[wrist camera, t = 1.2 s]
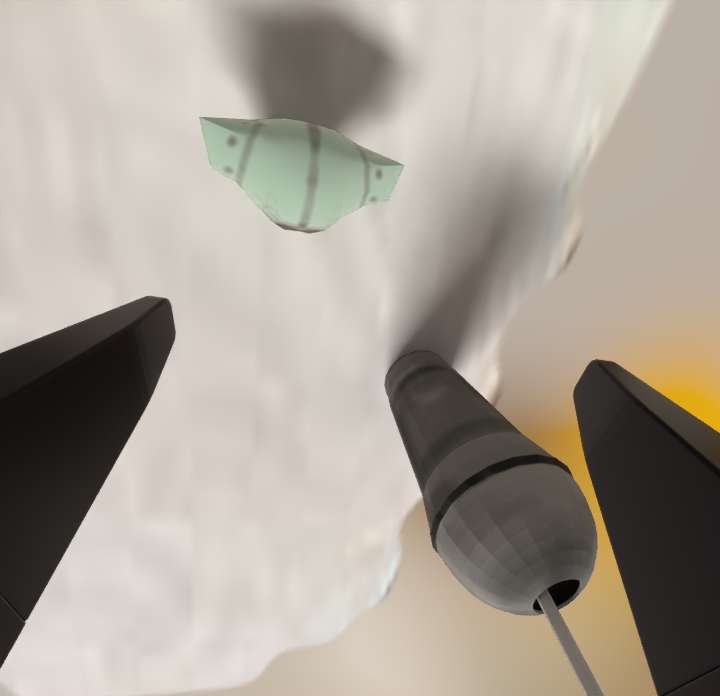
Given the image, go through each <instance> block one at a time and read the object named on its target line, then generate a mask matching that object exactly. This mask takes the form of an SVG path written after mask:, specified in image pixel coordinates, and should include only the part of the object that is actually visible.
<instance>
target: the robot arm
mask: <svg viewBox="0 0 720 696" xmlns="http://www.w3.org/2000/svg"><path fill="white" fill-rule="evenodd" d="M175 334H176V332H175V325H174V319H173V313H172V307H171V303H170V301H169V300H168V299H167V298H161V297H154V296H146V297H143V298H141V299H138V300H136V301H133V302H130V303H128V304H125V305H123V306H120V307H118V308H115V309H112V310H110V311H107V312H105V313H102V314H100V315H97V316H95V317H92V318H89V319H87V320H84V321H82V322H79V323H77V324H74V325H71V326H69V327H66V328H64V329H61V330H59V331H56V332H54V333H51V334H48V335H46V336H43V337H41V338H38V339H36V340H33V341H30V342H28V343H25V344H23V345H20V346H18V347H15V348H13V349H10V350H7V351H5V352H2V353H0V668H1V667H2V665H3V663H4V661H5V660H6V658H7V656H8V654H9V652H10V651H11V649H12V647H13V645H14V643H15V642H16V640H17V638H18V636H19V635H20V633H21V631H22V629H23V627H24V626H25V621H26V620H27V619H28V618H29V616H30V614H31V612H32V611H33V609H34V607H35V605H36V603H37V602H38V600H39V598H40V596H41V595H42V593H43V591H44V589H45V587H46V586H47V584H48V582H49V580H50V579H51V577H52V575H53V573H54V571H55V570H56V568H57V566H58V564H59V562H60V561H61V559H62V557H63V555H64V554H65V552H66V550H67V548H68V546H69V545H70V543H71V541H72V539H73V537H74V536H75V534H76V532H77V530H78V529H79V527H80V525H81V523H82V521H83V520H84V518H85V516H86V514H87V512H88V511H89V509H90V507H91V505H92V504H93V502H94V500H95V498H96V496H97V495H98V493H99V491H100V489H101V487H102V486H103V484H104V482H105V480H106V479H107V477H108V475H109V473H110V471H111V470H112V468H113V466H114V464H115V462H116V461H117V459H118V457H119V455H120V454H121V452H122V450H123V448H124V446H125V445H126V443H127V441H128V439H129V437H130V436H131V434H132V432H133V430H134V429H135V427H136V425H137V423H138V421H139V420H140V418H141V416H142V414H143V412H144V411H145V409H146V407H147V405H148V403H149V401H150V399H151V397H152V395H153V392H154V390H155V388H156V385H157V383H158V380H159V378H160V375H161V373H162V370H163V368H164V366H165V363H166V361H167V358H168V356H169V353H170V351H171V348H172V346H173V343H174V340H175ZM573 398H574V404H575V409H576V415H577V420H578V425H579V430H580V436H581V442H582V447H583V452H584V456H585V461H586V464H587V467H588V471H589V474H590V478H591V481H592V484H593V487H594V490H595V494H596V497H597V500H598V504H599V507H600V510H601V513H602V517H603V520H604V523H605V526H606V530H607V533H608V536H609V539H610V543H611V546H612V549H613V552H614V556H615V559H616V562H617V565H618V569H619V572H620V575H621V578H622V582H623V585H624V588H625V591H626V594H627V598H628V601H629V604H630V608H631V611H632V614H633V617H634V620H635V624H636V627H637V630H638V634H639V637H640V640H641V643H642V646H643V650H644V653H645V656H646V659H647V663H648V666H649V669H650V672H651V676H652V679H653V682H654V685H655V689H656V692H657V695H658V696H720V433H719V432H717V431H716V430H714V429H713V428H711V427H710V426H708V425H707V424H705V423H704V422H702V421H701V420H699V419H698V418H697V417H695V416H693V415H692V414H690V413H689V412H688V411H686V410H685V409H683V408H682V407H680V406H679V405H677V404H675V403H674V402H673V401H671V400H670V399H668V398H667V397H665V396H664V395H662V394H661V393H659V392H658V391H656V390H655V389H653V388H652V387H650V386H649V385H647V384H646V383H645V382H643V381H642V380H640V379H639V378H637V377H635V376H634V375H633V374H631V373H630V372H628V371H627V370H625V369H624V368H622V367H621V366H619V365H618V364H616V363H615V362H611V361H605V360H597V359H596V360H593V361H591V362H590V363H589V364H588V366H587V367H586V369H585V371H584V373H583V374H582V376H581V378H580V379H579V381H578V383H577V384H576V386H575V389H574V393H573Z"/></svg>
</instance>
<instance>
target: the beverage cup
mask: <svg viewBox="0 0 720 696" xmlns="http://www.w3.org/2000/svg"><path fill="white" fill-rule="evenodd" d="M385 389H386V393H387V395H388V398H389V403H390V407H391V410H392V413H393V416H394V418H395V421H396V424H397V427H398V429H399V432H400V435H401V438H402V440H403V443H404V446H405V449H406V451H407V454H408V457H409V460H410V462H411V465H412V468H413V471H414V473H415V476H416V479H417V482H418V484H419V487H420V490H421V493H422V495H423V500H424V505H425V510H426V514H427V519H428V523H429V528H430V531H431V532H430V535H431V540H432V545H433V548H434V549H435V551H436V552H437V553H438V554H439V555H440V557H442V559H443V561H444V563H445V565H446V566H447V567H448V569H449V570H450V571H451V573H452V574H453V575H454V576H455V577H456V579H457V580H458V581H459V582H460V583H461V584H462V585H463V586H464V587H465V588H466V589H467V590H468V591H469V592H470V593H471V594H472V595H474V596H475V597H476V598H478V599H479V600H481V601H482V602H484V603H486V604H488V605H490V606H492V607H494V608H496V609H499V610H502V611H505V612H509V613H513V614H516V615H541V614H545V616H546V618H547V620H548V622H549V624H550V626H551V628H552V630H553V632H554V634H555V636H556V637H557V640H558V642H559V644H560V645H561V648H562V650H563V652H564V653H565V655H566V657H567V660H568V661H569V663H570V665H571V667H572V669H573V671H574V673H575V675H576V677H577V679H578V681H579V683H580V685H581V687H582V689H583V691H584V693H585V695H586V696H604V695H603V693H602V691H601V689H600V687H599V685H598V684H597V682H596V680H595V678H594V676H593V674H592V672H591V671H590V669H589V667H588V665H587V663H586V661H585V659H584V657H583V655H582V654H581V652H580V650H579V648H578V647H577V644H576V642H575V641H574V639H573V637H572V635H571V633H570V631H569V629H568V627H567V626H566V624H565V622H564V620H563V618H562V617H561V614H560V612H559V611H558V610H559V609H560V608H563V607H564V606H566V605H568V604H569V603H570V602H571V601H573V600H574V599H575V598H576V597H577V596H578V595H579V594H580V592H581V591H582V590H583V589H584V588H585V586H586V584H587V582H588V581H589V579H590V577H591V574H592V572H593V570H594V564H595V560H596V553H597V531H596V526H595V521H594V519H593V516H592V513H591V510H590V508H589V505H588V503H587V501H586V498H585V496H584V495H583V493H582V491H581V489H580V487H579V485H578V484H577V483H576V482H575V480H574V479H573V476H572V474H571V472H570V470H569V468H568V467H567V466H566V465H565V464H563V463H562V462H561V461H559V460H558V459H557V458H555V457H553V456H551V455H550V454H549V453H547V452H546V451H545V450H543V449H542V448H541V447H539V446H538V445H537V444H535V443H534V442H533V441H531V440H530V439H528V438H527V437H526V436H524V435H523V434H522V433H520V432H519V431H518V430H517V429H516V428H515V427H514V426H513V425H512V424H511V423H510V422H509V421H508V420H507V419H506V418H505V417H504V416H503V415H502V414H500V412H499V411H497V410H496V409H495V408H494V407H493V406H492V405H491V404H490V403H489V402H488V401H487V400H486V399H485V398H484V397H483V396H482V395H481V394H480V393H479V392H478V391H477V390H475V389H474V388H473V387H472V386H471V385H470V384H469V383H468V382H467V381H466V380H465V379H464V378H463V377H462V376H461V375H460V374H459V373H458V372H457V371H456V370H455V369H453V368H452V367H451V366H449V365H448V364H447V363H445V362H444V361H443V360H442V359H441V358H440V357H439V356H438V355H436V354H435V353H432V352H428V351H416V352H413V353H410V354H407V355H405V356H403V357H402V358H400V359H399V360H397V361H396V362H395V364H394V365H393V366H392V367H391V368H390V370H389V372H388V374H387V376H386V380H385Z"/></svg>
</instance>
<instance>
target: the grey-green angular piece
mask: <svg viewBox="0 0 720 696" xmlns="http://www.w3.org/2000/svg"><path fill="white" fill-rule="evenodd" d="M199 119H200V123H201V127H202V132H203V136H204V140H205V145H206V149H207V153H208V158H209V162H210V165H211V167H212V169H213V170H215V171H217V172H219V173H220V174H222V175H224V176H226V177H227V178H229V179H231V180H233V181H234V182H236V183H238V184H239V186H240V187H241V188H242V189H243V191H244V192H245V193H246V194H247V195H248V197H249V198H250V199H251V200H252V201H253V202H254V203H255V204H256V206H257V207H258V208H259V209H260V210H261V211H262V212H263V213H264V214H265V215H266V216H267V217H268V218H269V219H270V220H271V221H272V222H274V223H275V224H277V225H278V226H280V227H281V228H283V229H285V230H294V231H301V232H305V233H309V234H310V233H315V232H320V231H324V230H326V229H327V228H329V227H330V226H332V225H333V224H334V223H336V222H337V221H338V220H340V219H341V218H343V217H344V216H346V215H348V214H350V213H352V212H353V211H355V210H357V209H359V208H361V207H363V206H366V205H370V204H375V203H379V202H384V201H388V199H389V197H390V195H391V193H392V191H393V189H394V187H395V184H396V182H397V180H398V178H399V176H400V174H401V172H402V170H403V168H404V165H403V164H400V163H398V162H396V161H393V160H391V159H389V158H387V157H384V156H382V155H380V154H377V153H375V152H373V151H370V150H368V149H366V148H363V147H361V146H359V145H358V144H356V143H355V142H353V141H351V140H350V139H348V138H346V137H345V136H343V135H341V134H340V133H338V132H336V131H334V130H331V129H328V128H325V127H322V126H320V125H317V124H314V123H309V122H304V121H298V120H292V119H287V118H277V119H257V120H246V119H228V118H210V117H199Z"/></svg>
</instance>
